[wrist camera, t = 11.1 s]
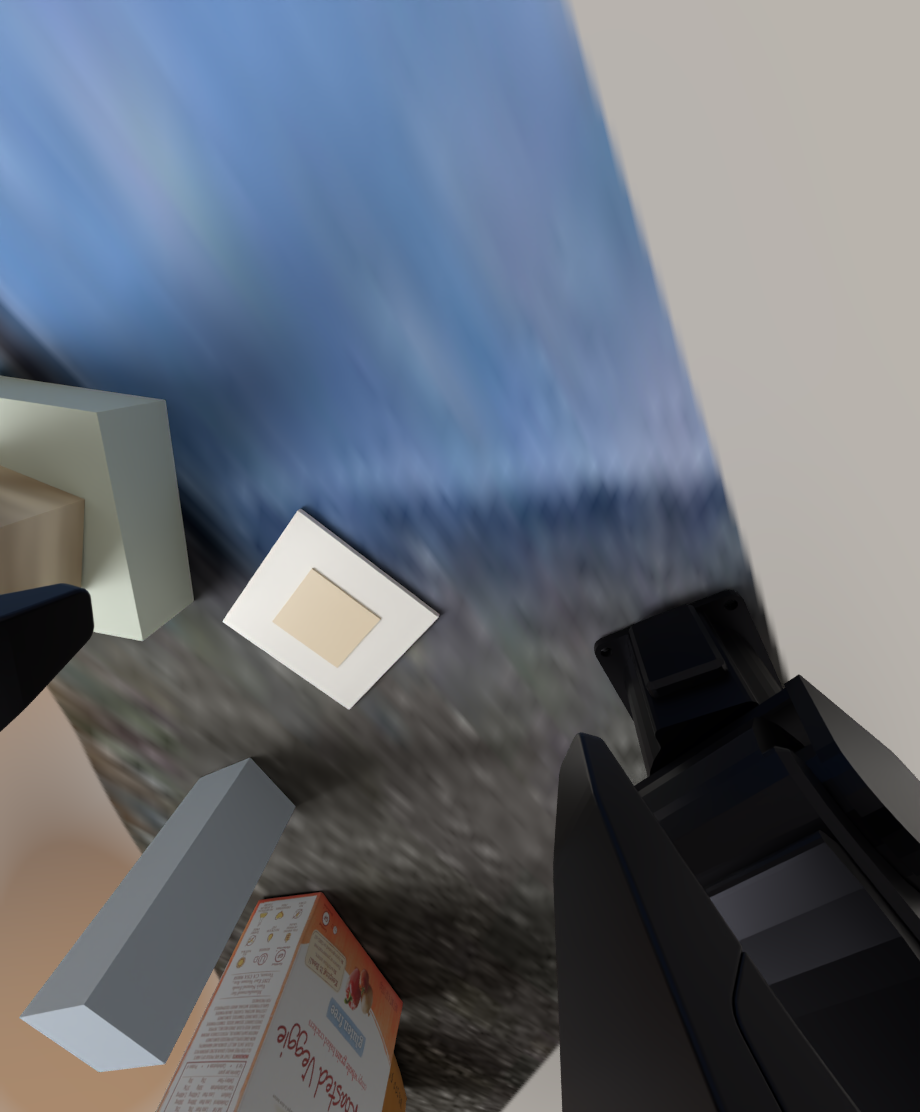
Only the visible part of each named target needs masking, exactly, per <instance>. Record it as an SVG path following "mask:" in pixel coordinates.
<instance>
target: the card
mask: <svg viewBox="0 0 920 1112" xmlns="http://www.w3.org/2000/svg"><path fill="white" fill-rule="evenodd" d="M438 617H439V613H437V612H436V611H435V610H433V609H432V608H431V607H429V606H428V605H427V604H426V603H424V602H423V601H422V600H420V599H419V598H418V597H416V596H415V595H414V594H412V593H411V592H410V591H409V590H407V589H406V588H405V587H403V586H402V585H401V584H399V583H398V582H397V581H395V580H394V579H393V578H391V577H390V576H389V575H388V574H386V573H385V572H384V571H382V570H381V569H380V568H378V567H377V566H376V565H374V564H373V563H372V562H370V561H369V560H368V559H367V558H365V557H364V556H363V555H361V554H360V553H359V552H357V551H356V550H355V549H353V548H352V547H351V546H349V545H348V544H347V543H346V542H344V541H343V540H342V539H340V538H339V537H338V536H336V535H335V534H334V533H332V532H331V531H330V530H329V529H327V528H326V527H325V526H323V525H322V524H321V523H319V522H318V521H317V520H315V519H314V518H313V517H311V516H310V515H309V514H308V513H306V512H305V511H304V510H302V509H299V510H298V511H297V512H296V514H295V515H294V517H293V518H292V520H291V521H290V523H289V524H288V526H287V527H286V529H285V530H284V532H283V533H282V535H281V536H280V537H279V539H278V540H277V542H276V543H275V545H274V546H273V548H272V549H271V551H270V552H269V554H268V555H267V557H266V558H265V560H264V561H263V562H262V564H261V565H260V567H259V568H258V570H257V571H256V573H255V574H254V576H253V577H252V579H251V580H250V582H249V583H248V585H247V586H246V587H245V589H244V590H243V592H242V593H241V595H240V596H239V598H238V599H237V601H236V602H235V604H234V605H233V607H232V608H231V610H230V611H229V613H228V614H227V615H226V617H225V618H224V620H223V621H222V622H223V623H225V624H226V625H228V626H229V627H231V628H232V629H233V630H235V631H236V632H238V633H239V634H241V635H242V636H244V637H245V638H246V639H248V640H249V641H251V642H252V643H254V644H255V645H256V646H258V647H259V648H261V649H262V650H264V651H265V652H267V653H268V654H269V655H271V656H272V657H274V658H275V659H277V660H278V661H279V662H281V663H282V664H284V665H285V666H287V667H288V668H290V669H291V670H292V671H294V672H295V673H297V674H298V675H300V676H301V677H302V678H304V679H305V680H307V681H308V682H310V683H311V684H313V685H314V686H315V687H317V688H318V689H320V690H321V691H323V692H324V693H325V694H327V695H328V696H330V697H331V698H333V699H334V700H336V701H337V702H338V703H340V704H341V705H343V706H344V707H346V708H347V709H348V710H349V709H350V708H351V707H352V706H353V705H354V704H355V703H356V702H357V701H358V700H359V699H360V698H361V697H362V696H363V695H364V694H365V693H366V692H367V691H368V690H369V689H370V688H371V687H372V686H373V685H374V684H375V683H376V681H377V680H378V679H379V678H380V677H381V676H382V675H383V674H384V673H385V672H386V671H387V670H388V669H389V668H390V667H391V666H392V665H393V664H394V663H395V662H396V661H397V660H398V659H399V658H400V657H401V656H402V655H403V654H404V653H405V651H406V650H407V649H408V648H409V647H410V646H411V645H412V644H413V643H414V642H415V641H416V640H417V639H418V638H419V637H420V636H421V635H422V634H423V633H424V632H425V631H426V630H427V629H428V628H429V627H430V626H431V625H432V624H433V623H434V622H435V620H436V619H437V618H438Z"/></svg>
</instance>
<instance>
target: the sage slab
mask: <svg viewBox="0 0 920 1112" xmlns="http://www.w3.org/2000/svg"><path fill="white" fill-rule="evenodd" d="M0 465H1V466H3V467H6V468H8V469H11V470H13V471H16V472H18V473H21V474H23V475H26V476H28V477H31V478H33V479H36V480H38V481H40V482H43V483H45V484H48V485H50V486H53V487H55V488H58V489H60V490H63V491H65V492H68V493H70V494H73V495H75V496H78V497H80V498H83V499H85V507H84V530H83V553H82V576H81V588H84V589H86V590H88V592H89V593H90V595H91V601H92V609H93V618H94V631H93V632H98V633H103V634H108V635H113V636H119V637H124V638H129V639H134V640H139V641H144V640H145V639H146V638H148V637H149V636H150V635H151V634H153V633H154V632H155V631H157V630H158V629H159V628H160V627H162V626H163V625H164V624H165V623H167V622H168V621H169V620H171V619H172V618H173V617H174V616H176V615H177V614H178V613H180V612H181V611H182V610H183V609H185V608H186V607H187V606H188V605H190V604H191V603H192V602H194V597H193V589H192V582H191V575H190V568H189V561H188V554H187V547H186V540H185V533H184V526H183V519H182V512H181V505H180V498H179V491H178V484H177V477H176V470H175V463H174V456H173V449H172V442H171V435H170V428H169V420H168V413H167V406H166V400H162V399H156V398H149V397H142V396H135V395H128V394H122V393H115V392H108V391H101V390H95V389H88V388H81V387H74V386H67V385H61V384H54V383H47V382H40V381H34V380H27V379H20V378H13V377H6V376H0Z"/></svg>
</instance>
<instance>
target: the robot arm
mask: <svg viewBox="0 0 920 1112" xmlns="http://www.w3.org/2000/svg"><path fill="white" fill-rule="evenodd" d="M729 600H734V602H733V603H732V604H731V605H727V606H726V605H725V603H726V602H727V601H729ZM93 631H94V618H93V609H92V601H91V595H90V593H89V592H88V590H86V589H84V588H81V587H77V586H74V585H71V584H66V583H59V584H54V585H49V586H43V587H38V588H33V589H28V590H23V591H18V592H12V593H7V594H2V595H0V732H1V731H2V730H3V729H4V728H5V727H6V726H7V725H8V724H9V723H10V722H11V721H12V720H13V719H15V718H16V717H17V716H18V715H19V714H20V713H21V712H22V711H23V710H24V709H25V708H26V707H27V706H28V705H29V704H30V703H31V702H32V701H33V700H34V699H35V698H36V697H37V696H38V694H39V693H40V692H41V691H42V690H43V689H44V688H45V687H46V686H47V685H48V684H49V683H50V682H51V681H52V679H53V678H54V677H55V676H56V675H57V674H58V673H59V672H60V671H61V670H62V669H63V668H64V666H65V665H66V664H67V663H68V662H69V661H70V660H71V659H72V658H73V657H74V656H75V654H76V653H77V652H78V651H79V650H80V649H81V648H82V647H83V646H84V645H85V644H86V643H87V641H88V640H89V639H90V637H91V636H92V634H93ZM603 648H610V650H609V651H607V652H604V651H601V650H602V649H603ZM594 651H595V655H596V657H597V659H598V661H599V662H600V664H601V666H602V667H603V669H604V671H605V673H606V674H607V676H608V678H609V680H610V681H611V683H612V685H613V686H614V688H615V690H616V692H617V693H618V695H619V697H620V698H621V700H622V702H623V704H624V705H625V707H626V709H627V711H628V712H629V714H630V716H631V717H632V719H633V721H634V724H635V728H636V732H637V736H638V740H639V744H640V748H641V752H642V756H643V760H644V764H645V768H646V772H647V776H648V777H647V778H646V779H644V780H643V781H641V782H640V783H638V784H637V785H635V786H634V785H633V784H632V782H631V781H630V779H629V778H628V776H627V775H626V773H625V772H624V770H623V769H622V767H621V766H620V764H619V763H618V761H617V760H616V758H615V757H614V756H613V754H612V753H611V751H610V750H609V748H608V747H607V745H606V744H605V742H604V741H603V740H602V739H601V738H599V737H596V736H593V735H589V734H586V733H578V734H577V735H576V736H575V738H574V740H573V742H572V744H571V746H570V748H569V750H568V752H567V754H566V756H565V758H564V761H563V763H562V765H561V769H560V774H559V785H558V799H557V814H556V829H555V843H554V861H553V883H554V908H555V934H556V960H557V985H558V1011H559V1037H560V1062H561V1085H562V1087H561V1088H562V1112H920V781H919V780H918V779H917V778H916V777H915V776H914V775H913V774H912V772H911V771H910V770H909V769H908V768H907V767H906V766H905V765H904V764H903V763H902V761H901V760H899V758H898V757H897V756H896V755H895V754H894V753H893V752H892V751H891V750H889V749H888V748H887V747H886V746H885V745H883V744H882V743H881V742H880V741H879V740H877V739H876V738H875V737H874V736H873V735H871V734H870V733H869V732H868V731H867V730H865V729H864V728H863V727H862V726H860V725H859V724H858V723H857V722H856V721H855V720H853V719H852V718H851V717H850V716H849V715H847V714H846V713H845V712H844V711H843V710H841V709H840V708H839V707H838V706H837V705H835V704H834V703H833V702H832V701H831V700H829V699H828V698H827V697H826V696H825V695H823V694H822V693H821V692H820V691H819V690H817V689H816V688H815V687H814V686H813V685H811V684H810V683H809V682H808V681H807V680H805V679H804V678H803V677H802V676H801V675H797V676H796V677H794V678H793V679H791V680H790V681H788V682H787V683H785V684H784V685H785V687H786V688H784V689H783V688H782V686H781V683H780V681H779V679H778V677H777V674H776V672H775V670H774V668H773V665H772V663H771V661H770V659H769V656H768V654H767V652H766V649H765V647H764V645H763V643H762V640H761V638H760V636H759V634H758V631H757V629H756V627H755V625H754V622H753V620H752V618H751V616H750V613H749V611H748V609H747V607H746V604H745V602H744V600H743V599H742V597H741V596H740V595H739V594H738V592H736V591H734V590H726V591H722V592H720V593H717V594H715V595H712V596H709V597H707V598H704V599H702V600H699V601H697V602H694V603H691V604H689V605H686V604H685V605H682V606H680V607H677V608H674V609H672V610H669V611H667V612H664V613H662V614H659V615H656V616H654V617H651V618H649V619H646V620H644V621H641V622H639V623H636V624H633V625H632V626H631V627H630V628H627V629H625V630H622V631H619V632H617V633H614V634H612V635H609V636H607V637H604V638H601V639H599V640H598V641H597V642H596V643H595V645H594Z"/></svg>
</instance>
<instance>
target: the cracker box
mask: <svg viewBox="0 0 920 1112" xmlns="http://www.w3.org/2000/svg"><path fill="white" fill-rule="evenodd" d="M402 1005H403V1001H402V1000H401V999H400V998H399V997H398V995H397V994H396V992H395V991H394V990H393V988H392V987H391V986H390V984H389V983H388V982H387V980H386V979H385V978H384V976H383V975H382V973H381V972H380V971H379V969H378V968H377V967H376V965H375V964H374V962H373V961H372V960H371V958H370V957H369V956H368V954H367V953H366V952H365V950H364V949H363V948H362V946H361V945H360V943H359V942H358V941H357V939H356V938H355V937H354V935H353V934H352V932H351V931H350V930H349V928H348V927H347V926H346V924H345V923H344V922H343V920H342V919H341V918H340V916H339V915H338V913H337V912H336V911H335V909H334V908H333V906H332V905H331V904H330V902H329V901H328V900H327V898H326V897H325V895H324V894H323V893H322V892H317V893H310V894H302V895H294V896H286V897H278V898H270V899H263V900H259V901H258V903H257V905H256V907H255V909H254V911H253V913H252V915H251V917H250V919H249V921H248V923H247V925H246V927H245V929H244V931H243V933H242V935H241V937H240V940H239V942H238V944H237V946H236V948H235V950H234V952H233V954H232V956H231V958H230V960H229V962H228V964H227V966H226V969H225V971H224V973H223V975H222V977H221V979H220V981H219V983H218V985H217V987H216V989H215V991H214V993H213V995H212V997H211V999H210V1001H209V1003H208V1005H207V1007H206V1009H205V1011H204V1014H203V1016H202V1018H201V1020H200V1022H199V1024H198V1026H197V1028H196V1030H195V1032H194V1034H193V1036H192V1038H191V1040H190V1042H189V1044H188V1046H187V1048H186V1051H185V1053H184V1054H183V1057H182V1059H181V1061H180V1063H179V1065H178V1067H177V1069H176V1071H175V1073H174V1075H173V1077H172V1079H171V1081H170V1083H169V1085H168V1087H167V1089H166V1091H165V1094H164V1096H163V1098H162V1100H161V1102H160V1104H159V1106H158V1108H157V1110H156V1112H382V1108H383V1102H384V1097H385V1092H386V1087H387V1082H388V1077H389V1072H390V1067H391V1062H392V1057H393V1052H394V1047H395V1042H396V1036H397V1031H398V1026H399V1020H400V1015H401V1010H402Z"/></svg>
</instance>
